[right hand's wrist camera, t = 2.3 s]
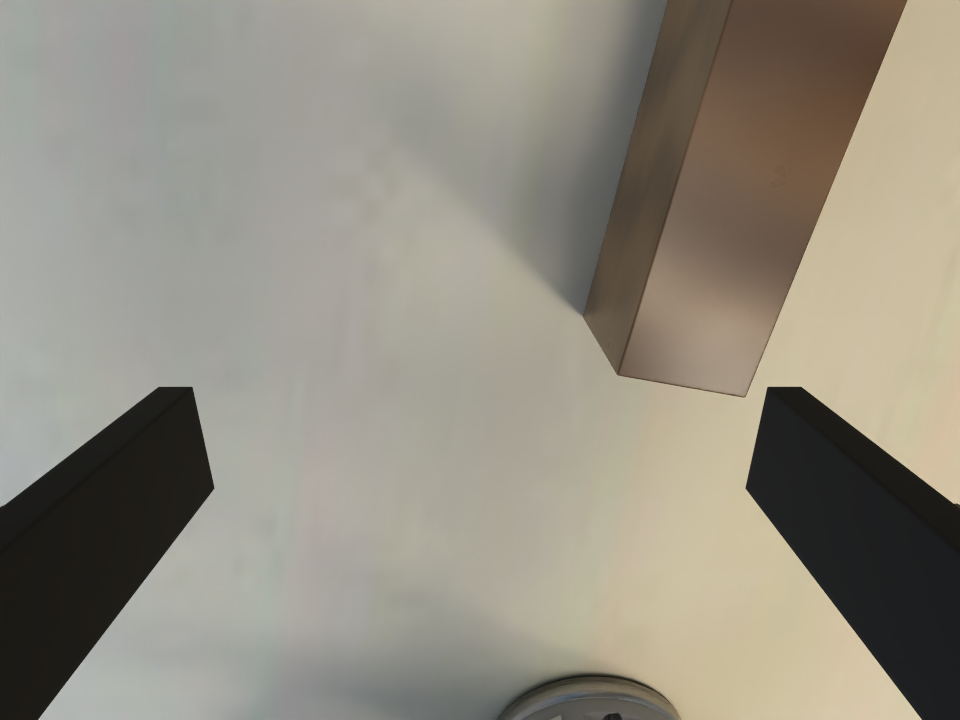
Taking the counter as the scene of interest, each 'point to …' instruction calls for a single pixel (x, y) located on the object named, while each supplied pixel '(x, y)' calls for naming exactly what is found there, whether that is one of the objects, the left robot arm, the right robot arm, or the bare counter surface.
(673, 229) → the bar
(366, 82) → the counter surface
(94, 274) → the counter surface
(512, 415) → the counter surface
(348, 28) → the counter surface
